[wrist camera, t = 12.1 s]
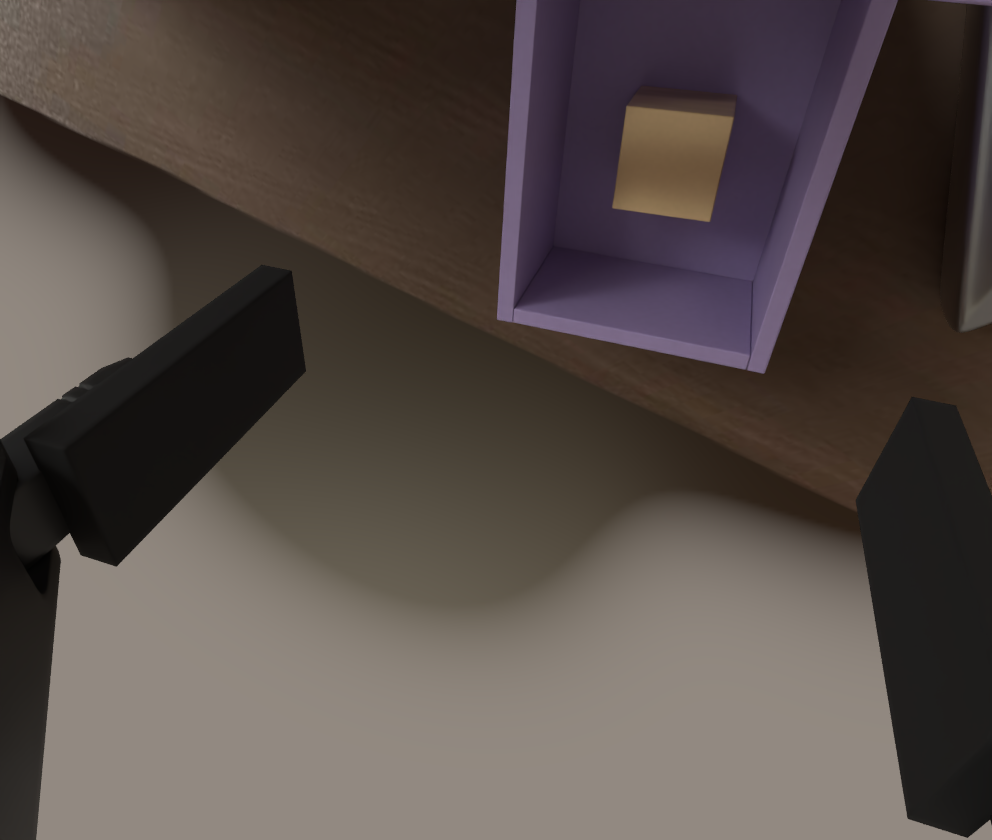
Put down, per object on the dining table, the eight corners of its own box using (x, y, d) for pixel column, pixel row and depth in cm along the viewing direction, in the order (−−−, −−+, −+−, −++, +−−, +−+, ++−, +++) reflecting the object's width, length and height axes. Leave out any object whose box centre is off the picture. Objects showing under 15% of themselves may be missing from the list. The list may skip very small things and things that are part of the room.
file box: (764, 290, 37) (764, 374, 30) (541, 250, 40) (496, 319, 33) (888, -89, 27) (930, -89, 20) (577, -109, 29) (523, -115, 23)
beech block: (640, 85, 32) (626, 105, 29) (737, 94, 31) (734, 116, 28) (626, 180, 35) (611, 209, 32) (715, 191, 34) (710, 222, 31)
